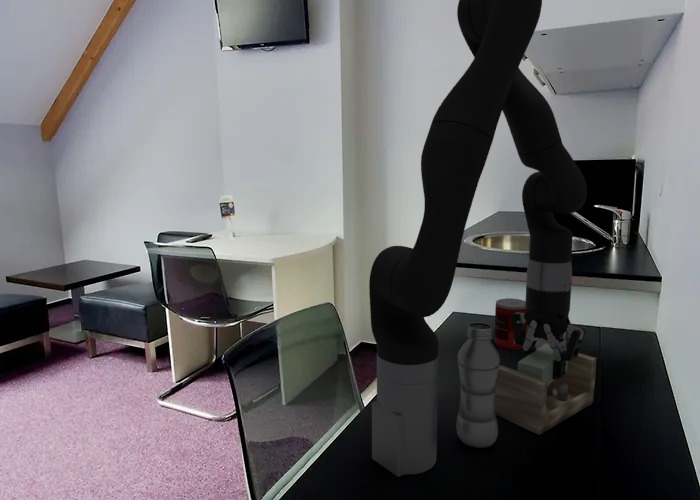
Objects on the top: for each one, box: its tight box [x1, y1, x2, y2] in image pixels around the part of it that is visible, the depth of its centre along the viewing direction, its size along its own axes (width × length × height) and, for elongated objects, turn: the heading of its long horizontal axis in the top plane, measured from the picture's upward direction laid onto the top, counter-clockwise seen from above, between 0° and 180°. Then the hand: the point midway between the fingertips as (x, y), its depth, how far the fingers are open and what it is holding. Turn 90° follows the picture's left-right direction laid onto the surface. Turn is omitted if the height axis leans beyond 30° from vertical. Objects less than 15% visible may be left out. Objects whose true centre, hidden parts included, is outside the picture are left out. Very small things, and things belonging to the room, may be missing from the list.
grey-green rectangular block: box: [517, 344, 568, 386], centre depth 93 cm, size 12×4×4 cm, turn 137°
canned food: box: [493, 297, 529, 351], centre depth 126 cm, size 8×8×11 cm
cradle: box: [495, 343, 598, 436], centre depth 94 cm, size 18×10×9 cm, turn 128°
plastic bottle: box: [455, 321, 501, 449], centre depth 82 cm, size 6×7×20 cm
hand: (543, 373), depth 94 cm, fingers closed on grey-green rectangular block, 5 cm apart
